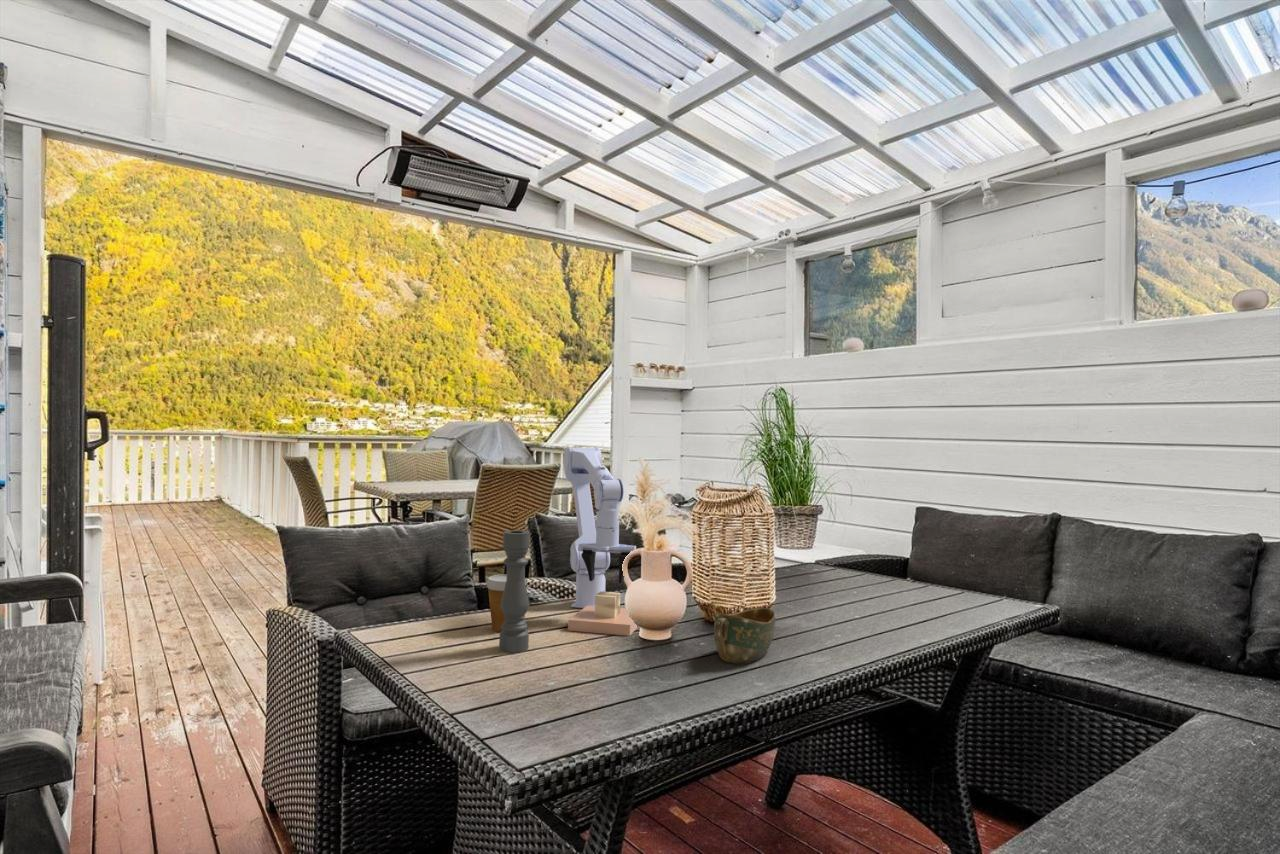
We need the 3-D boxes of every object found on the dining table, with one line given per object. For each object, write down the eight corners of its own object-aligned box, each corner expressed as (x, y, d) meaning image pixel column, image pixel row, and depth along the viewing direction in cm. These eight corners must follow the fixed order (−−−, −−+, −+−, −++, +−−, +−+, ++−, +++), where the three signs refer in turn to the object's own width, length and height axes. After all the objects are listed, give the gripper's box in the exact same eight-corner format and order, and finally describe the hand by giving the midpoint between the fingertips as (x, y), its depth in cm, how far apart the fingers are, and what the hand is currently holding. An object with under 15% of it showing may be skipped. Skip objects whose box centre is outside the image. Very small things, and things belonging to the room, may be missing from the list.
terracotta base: (586, 615, 187) (587, 605, 187) (644, 619, 183) (644, 609, 183) (568, 630, 172) (568, 619, 172) (629, 635, 169) (630, 624, 169)
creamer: (686, 651, 157) (687, 604, 157) (762, 642, 166) (764, 598, 166) (718, 670, 146) (720, 619, 146) (798, 659, 154) (800, 612, 154)
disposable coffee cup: (522, 634, 168) (523, 582, 168) (480, 633, 168) (482, 581, 168) (529, 623, 177) (530, 574, 177) (490, 622, 177) (491, 573, 177)
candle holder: (522, 653, 153) (525, 534, 154) (494, 651, 155) (497, 533, 155) (532, 645, 159) (535, 530, 160) (505, 643, 161) (508, 529, 161)
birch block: (600, 611, 180) (600, 591, 181) (619, 613, 179) (620, 592, 179) (594, 616, 176) (595, 595, 176) (614, 618, 174) (615, 597, 175)
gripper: (575, 527, 181) (573, 582, 181) (631, 530, 178) (630, 586, 178) (583, 524, 188) (582, 577, 188) (638, 527, 185) (637, 580, 185)
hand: (606, 581), depth 184 cm, fingers open, 7 cm apart
